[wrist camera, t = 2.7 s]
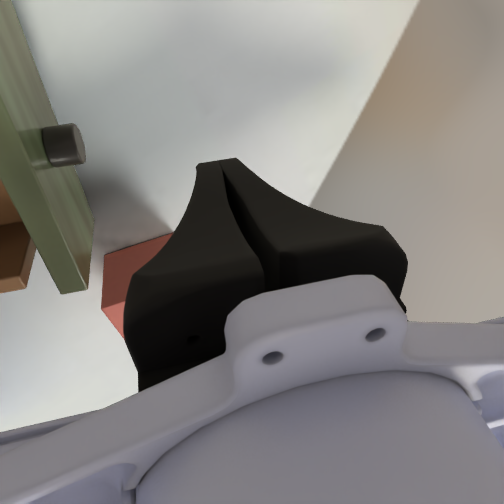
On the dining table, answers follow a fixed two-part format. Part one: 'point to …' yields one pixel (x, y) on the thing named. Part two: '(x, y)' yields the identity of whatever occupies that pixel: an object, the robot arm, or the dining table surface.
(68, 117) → the dining table surface
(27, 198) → the drawer
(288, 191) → the dining table surface
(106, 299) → the block
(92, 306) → the dining table surface
